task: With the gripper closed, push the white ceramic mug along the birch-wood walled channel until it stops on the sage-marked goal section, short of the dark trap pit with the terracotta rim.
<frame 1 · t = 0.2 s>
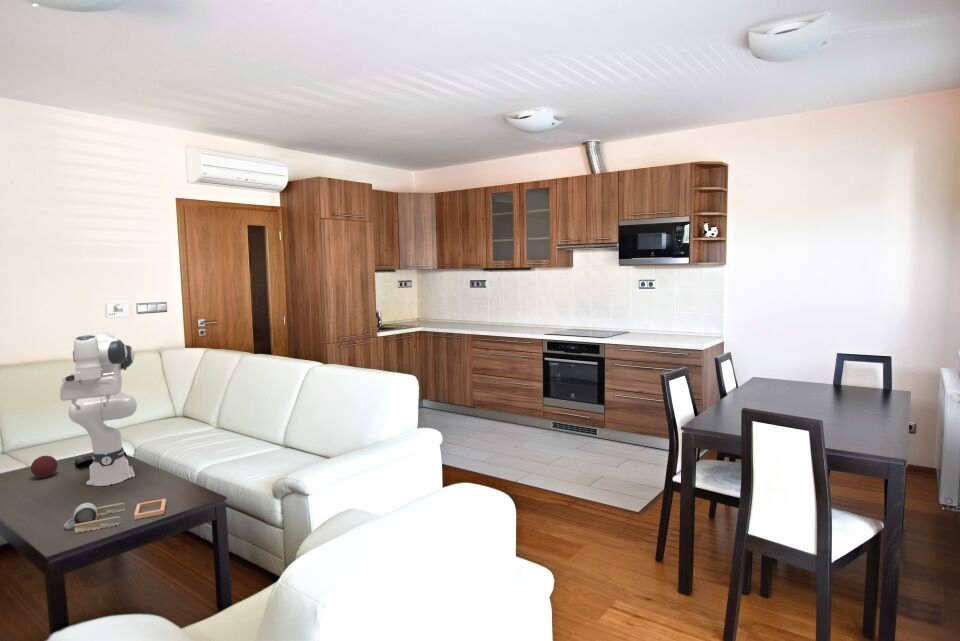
hand: (92, 408, 234), 39 cm above the table, tool pointing down, fingers open, 8 cm apart
ceramic mug: (82, 525, 215), on the table
decorative ball: (45, 477, 267), on the table
channel walls: (101, 521, 218), on the table
trap pit: (150, 511, 225), on the table
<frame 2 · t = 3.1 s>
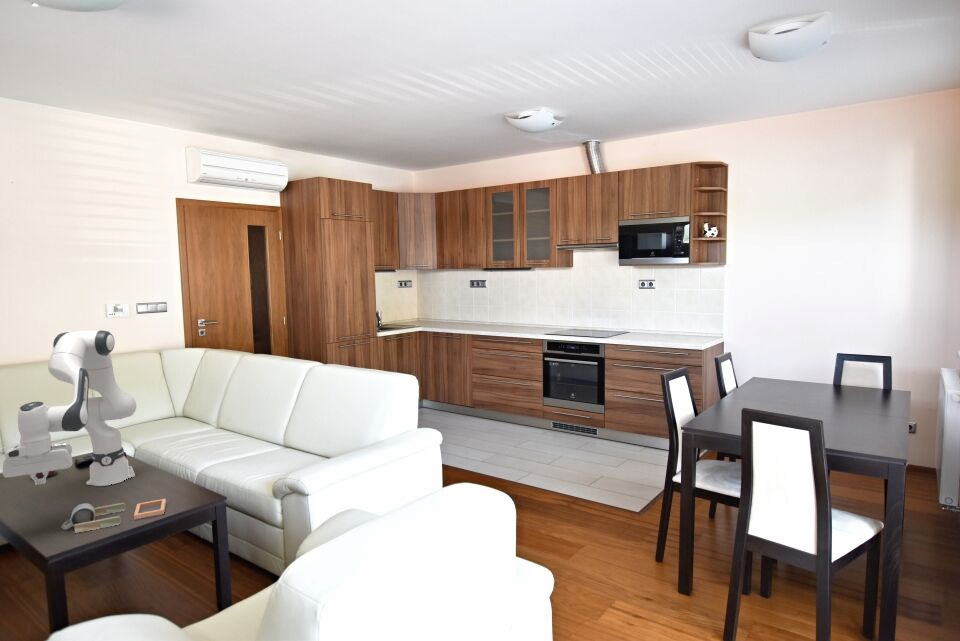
hand: (40, 484, 208), 18 cm above the table, tool pointing down, fingers closed
nothing on the table moved.
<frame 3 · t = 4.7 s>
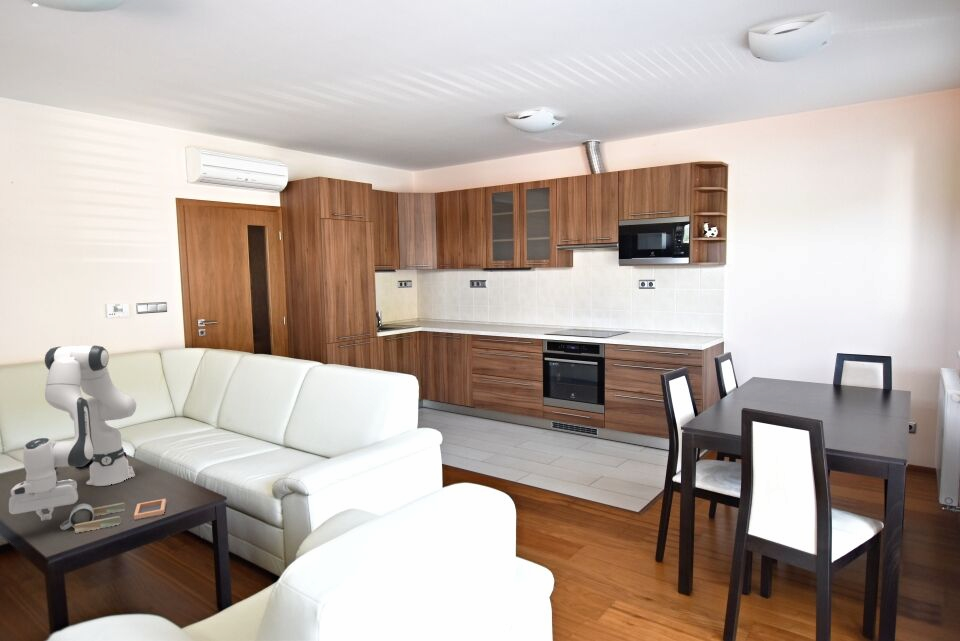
hand: (46, 519, 210), 5 cm above the table, tool pointing down, fingers closed
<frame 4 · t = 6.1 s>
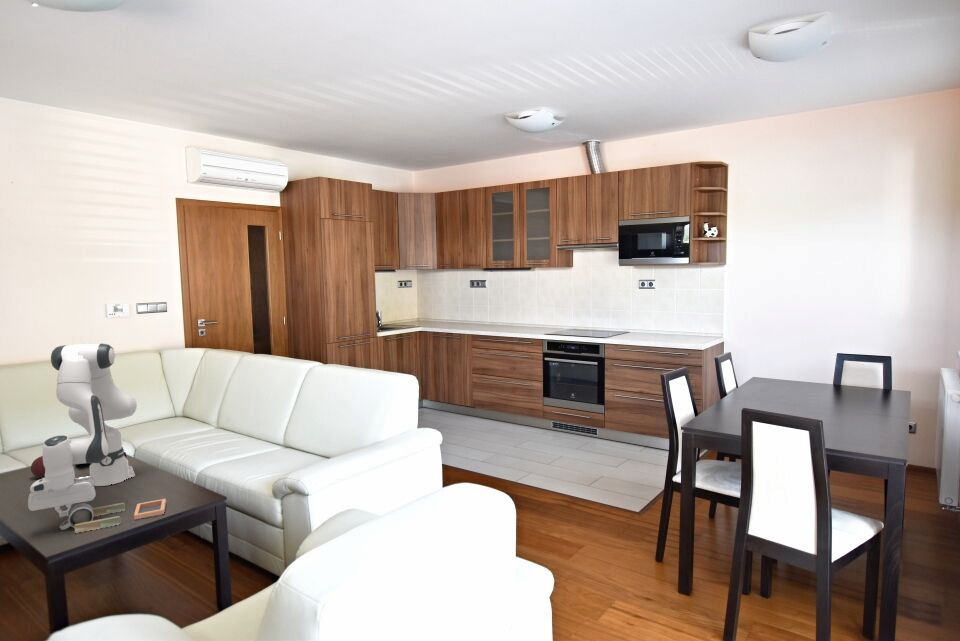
hand: (64, 516, 212), 5 cm above the table, tool pointing down, fingers closed
ceramic mug: (78, 526, 214), on the table, touching gripper
everything else where it was.
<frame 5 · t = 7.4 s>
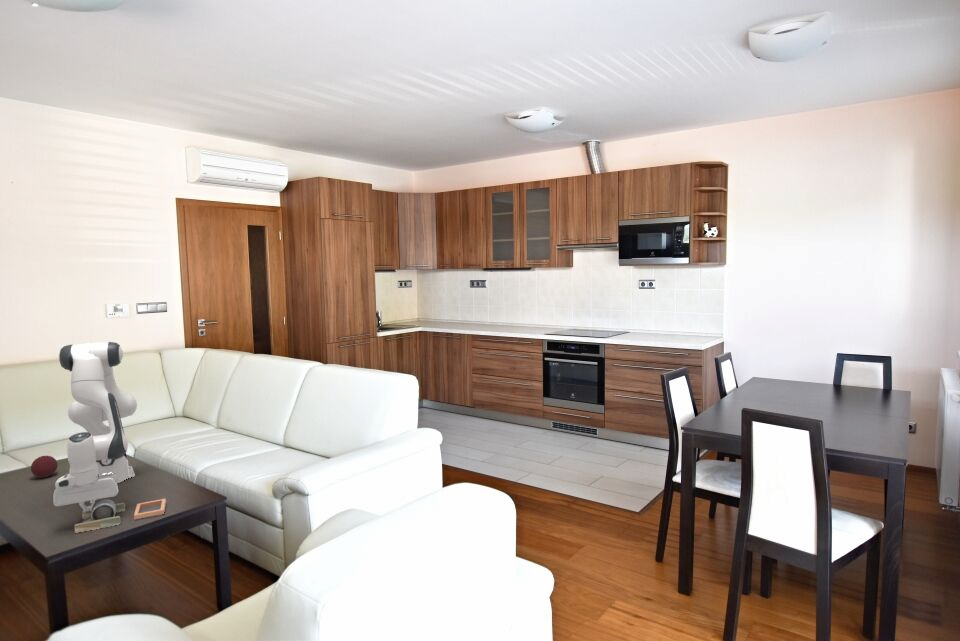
hand: (88, 511, 215), 5 cm above the table, tool pointing down, fingers closed
ceramic mug: (100, 522, 217), on the table, touching gripper
everything else where it was.
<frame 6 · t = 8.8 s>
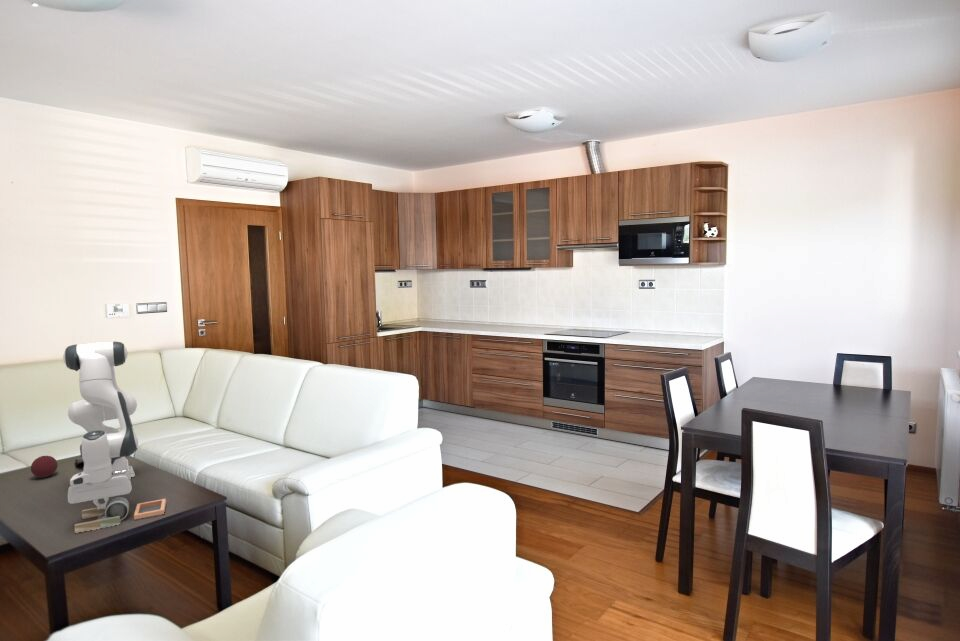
hand: (102, 509, 217), 5 cm above the table, tool pointing down, fingers closed
ceramic mug: (114, 519, 219), on the table, touching gripper
everything else where it was.
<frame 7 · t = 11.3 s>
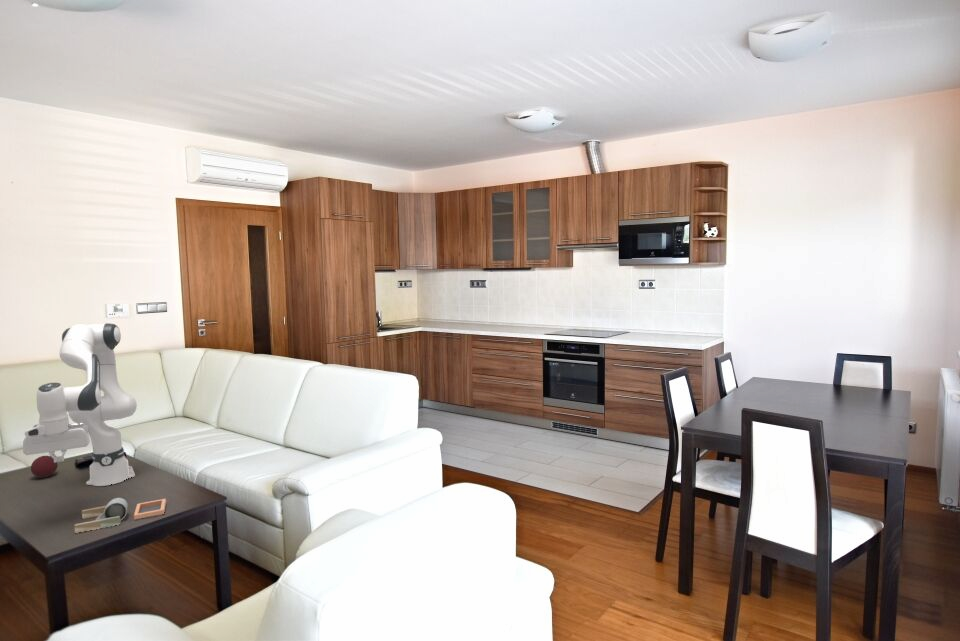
hand: (59, 461, 216), 24 cm above the table, tool pointing down, fingers closed
ceramic mug: (113, 520, 219), on the table
everything else where it was.
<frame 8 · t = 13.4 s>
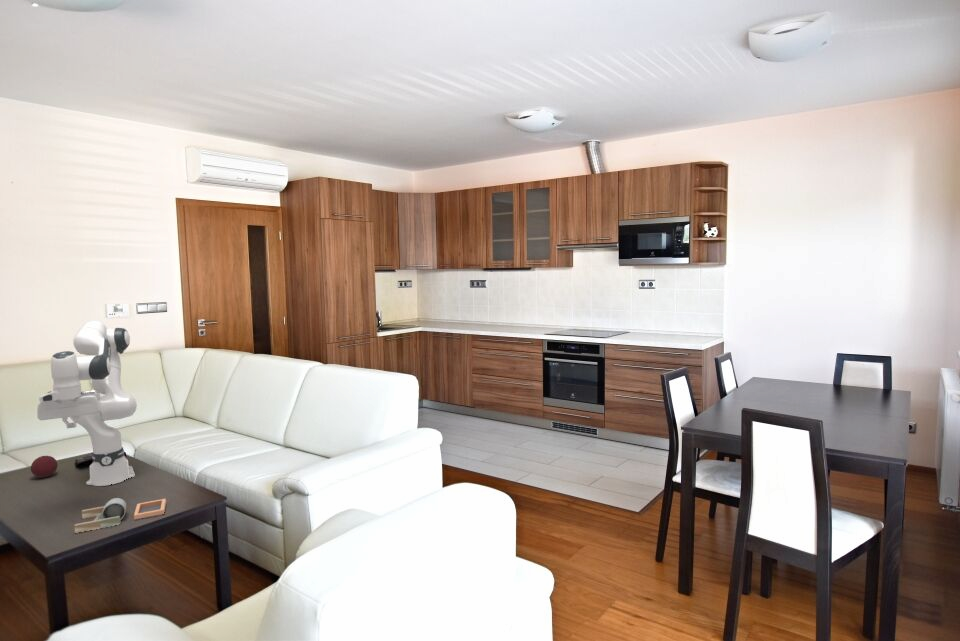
hand: (71, 427, 224), 34 cm above the table, tool pointing down, fingers closed
nothing on the table moved.
at the end: ceramic mug inside the target area (0.8 cm from its centre), on the table; ceramic mug tilted 0°; ceramic mug touching table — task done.
